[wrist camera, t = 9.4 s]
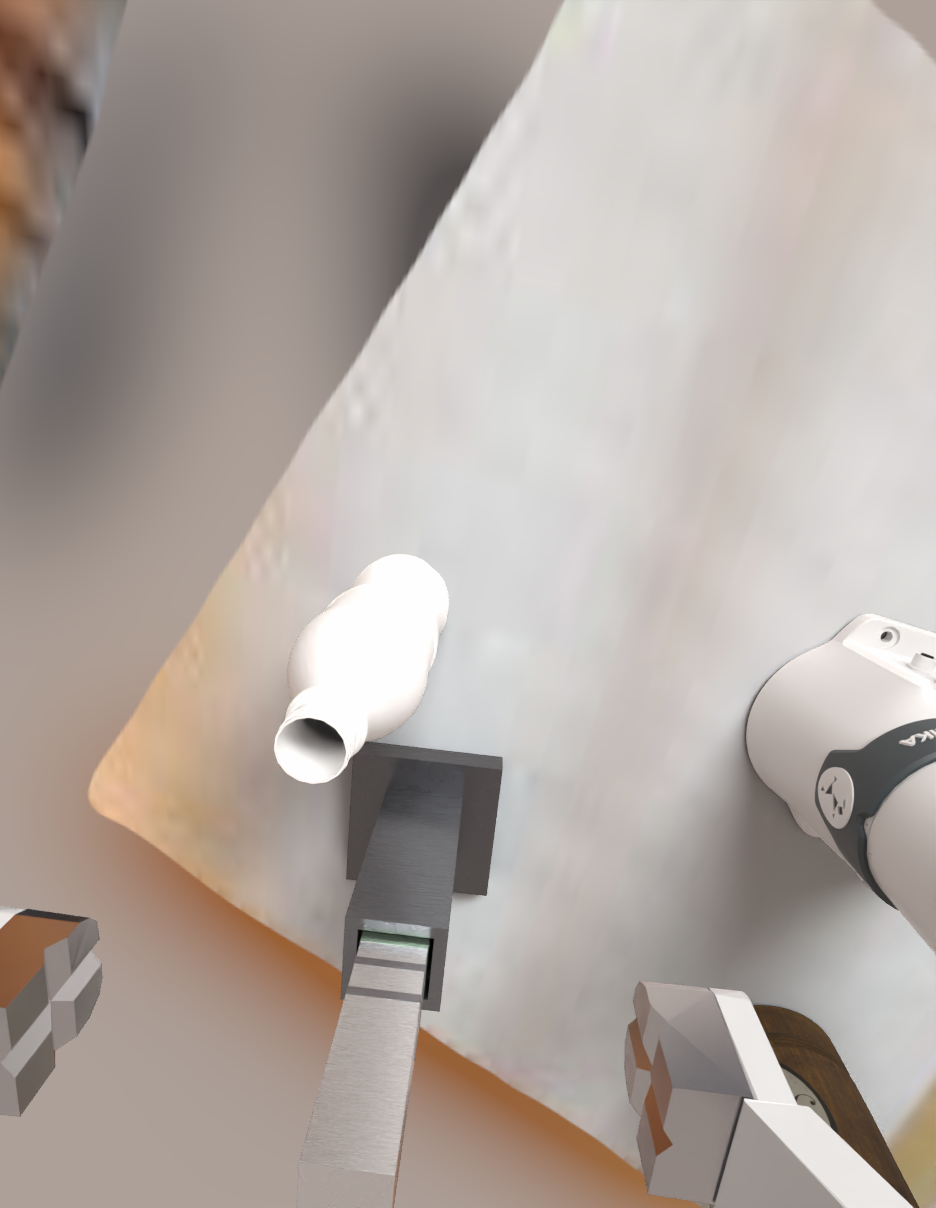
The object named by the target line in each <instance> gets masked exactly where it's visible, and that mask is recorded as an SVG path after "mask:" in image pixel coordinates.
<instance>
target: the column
mask: <svg viewBox="0 0 936 1208" xmlns="http://www.w3.org/2000/svg"><path fill="white" fill-rule="evenodd" d="M430 945H431V938H424V937H416V936H408V935H400V934H392V933H384V932H376V931H367V930H363V933H362V936H361V940H360V945H359V949H358V952H357V956H356V958H355V961H354V966H353V970H352V974H351V977H350V981H349V984H348V986H347V990H346V994H345V999H344V1002H343V1006H342V1009H341V1013H340V1017H339V1021H338V1024H337V1027H336V1031H335V1035H334V1038H333V1042H332V1045H331V1049H330V1052H329V1056H328V1060H327V1063H326V1067H325V1070H324V1074H323V1077H322V1081H321V1085H320V1088H319V1092H318V1095H317V1099H316V1102H315V1106H314V1110H313V1113H312V1117H311V1120H310V1124H309V1127H308V1131H307V1135H306V1138H305V1142H304V1145H303V1149H302V1153H301V1156H300V1160H299V1165H298V1166H299V1167H298V1193H297V1208H394V1202H395V1195H396V1187H397V1181H398V1173H399V1166H400V1158H401V1152H402V1145H403V1138H404V1130H405V1123H406V1115H407V1109H408V1102H409V1095H410V1088H411V1080H412V1073H413V1066H414V1061H415V1055H416V1044H417V1038H418V1030H419V1026H420V1018H421V1009H422V1003H423V997H424V990H425V981H426V973H427V966H428V959H429V952H430Z"/></svg>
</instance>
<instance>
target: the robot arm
mask: <svg viewBox="0 0 936 1208" xmlns="http://www.w3.org/2000/svg"><path fill="white" fill-rule="evenodd" d="M886 631H887V635H886V637H885V638H883V639H881V638H880V637H881V634H882V633H883V632H886ZM746 740H747V749H748V754H749V757H750V760H751V763H752V765H753V767H754V769H755V771H756V772H757V774H758V776H759V777H760V778H761V780H762V781H763V782H764V783H765V784H766V785H767V786H768V787H769V788H770V789H771V790H772V791H774V792H775V793H776V794H777V795H779V796H780V797H781V798H782V799H783V800H784V801H785V802H786V803H787V804H788V805H789V808H790V810H791V812H792V815H793V817H794V819H795V821H796V822H797V824H798V825H799V826H800V828H801V829H802V830H803V831H804V832H805V833H807V834H808V835H809V836H812V837H820V838H821V839H822V840H823V841H824V842H825V843H826V844H827V845H828V846H829V847H830V848H831V849H833V850H834V851H835V852H836V853H837V854H838V855H839V856H840V857H841V858H842V859H843V860H844V861H845V862H846V863H847V864H848V865H849V866H850V867H851V868H852V869H853V870H854V871H855V872H857V876H858V877H859V878H860V879H861V880H862V881H863V882H864V883H865V884H866V885H867V886H868V887H869V888H870V889H871V890H872V891H874V892H875V893H876V894H877V895H878V896H879V897H880V898H881V899H882V900H883V901H884V902H886V903H887V904H889V905H890V906H892V907H893V908H895V909H897V910H899V911H900V912H901V914H902V915H903V916H904V917H905V918H906V920H907V921H908V922H909V923H910V924H911V926H912V927H913V928H914V929H915V930H916V932H917V933H918V934H919V935H920V936H921V938H922V939H923V940H924V941H925V942H926V943H927V945H928V946H929V947H930V948H931V949H932V951H933V952H934V953H935V954H936V633H933V632H930V631H927V630H924V629H920V628H917V627H914V626H911V625H908V624H904V623H901V622H898V621H895V620H891V619H888V618H885V617H882V616H879V615H875V614H863V615H861V616H859V617H857V618H855V619H854V620H853V621H851V622H850V623H849V624H848V625H847V626H845V627H844V628H843V629H842V630H841V631H840V632H839V633H838V634H837V635H836V636H835V637H834V638H833V639H832V640H830V641H829V642H827V643H825V644H823V645H821V646H819V647H817V648H814V649H812V650H810V651H808V652H805V653H803V654H801V655H800V656H798V657H796V658H794V659H793V660H791V661H790V662H788V663H787V664H786V665H784V666H783V667H782V668H781V669H779V670H778V671H777V672H776V673H775V674H774V675H773V676H772V677H771V678H770V679H769V680H768V682H767V683H766V684H765V685H764V687H763V688H762V690H761V691H760V693H759V694H758V696H757V698H756V700H755V702H754V704H753V706H752V709H751V712H750V715H749V718H748V723H747V732H746ZM99 939H100V938H99V930H98V922H97V921H96V920H94V919H91V918H88V917H81V916H74V915H67V914H60V913H53V912H46V911H39V910H32V909H20V908H13V907H7V906H0V1115H8V1116H19V1117H20V1116H21V1114H22V1113H23V1112H24V1110H25V1109H26V1107H27V1106H28V1105H29V1103H30V1102H31V1100H32V1099H33V1098H34V1096H35V1095H36V1093H37V1092H38V1091H39V1089H40V1088H41V1086H42V1085H43V1084H44V1082H45V1081H46V1079H47V1078H48V1077H49V1075H50V1074H51V1072H52V1071H53V1069H54V1068H55V1050H57V1049H58V1048H60V1047H61V1046H63V1045H64V1044H66V1043H67V1042H69V1041H71V1040H72V1039H74V1038H75V1037H77V1036H78V1034H79V1033H80V1031H81V1029H82V1028H83V1027H84V1025H85V1024H86V1022H87V1021H88V1019H89V1018H90V1016H91V1013H92V1011H93V1009H94V1006H95V1004H96V1001H97V999H98V997H99V995H100V988H101V983H102V964H101V962H100V961H99V960H98V959H97V957H96V956H95V955H94V954H93V952H92V951H91V950H92V948H93V947H94V946H95V945H96V943H97V942H98V941H99ZM633 1004H634V1008H635V1013H636V1017H637V1018H636V1019H635V1020H634V1021H633V1022H631V1023H630V1024H629V1025H628V1028H627V1034H626V1040H625V1065H624V1066H625V1076H626V1085H627V1090H628V1096H629V1101H630V1104H631V1105H632V1106H633V1108H634V1109H635V1110H636V1111H637V1113H638V1114H639V1115H640V1116H641V1119H640V1124H639V1129H638V1134H637V1142H638V1147H639V1152H640V1157H641V1162H642V1167H643V1172H644V1176H645V1182H646V1187H647V1192H648V1194H650V1195H656V1196H662V1197H668V1198H675V1199H681V1200H687V1201H694V1202H700V1203H706V1204H713V1205H715V1206H714V1208H913V1207H912V1206H911V1205H910V1204H909V1203H908V1202H907V1201H906V1200H905V1199H904V1198H903V1197H902V1196H901V1195H900V1194H899V1193H898V1192H897V1191H896V1190H895V1189H894V1188H893V1187H892V1186H891V1185H890V1184H889V1183H888V1182H887V1181H886V1180H884V1179H883V1178H882V1177H881V1176H880V1175H879V1174H878V1173H877V1172H876V1171H875V1170H874V1169H873V1168H872V1167H871V1166H870V1165H869V1164H868V1163H867V1162H866V1161H865V1160H864V1159H863V1158H862V1157H861V1156H860V1155H859V1154H858V1153H856V1152H855V1151H854V1150H853V1149H852V1148H851V1147H850V1146H849V1145H848V1144H847V1143H846V1142H845V1141H844V1140H843V1139H842V1138H841V1137H840V1136H839V1135H838V1134H837V1133H836V1132H835V1131H834V1130H833V1129H832V1128H831V1127H830V1126H829V1125H827V1124H826V1123H825V1122H824V1121H823V1120H822V1119H821V1118H820V1117H819V1116H818V1115H817V1114H816V1113H815V1112H814V1111H813V1110H812V1109H811V1108H810V1107H807V1106H801V1105H797V1102H796V1100H795V1098H794V1096H793V1093H792V1091H791V1089H790V1087H789V1085H788V1082H787V1080H786V1078H785V1076H784V1074H783V1071H782V1069H781V1067H780V1065H779V1063H778V1060H777V1058H776V1056H775V1054H774V1052H773V1049H772V1047H771V1045H770V1043H769V1040H768V1038H767V1036H766V1034H765V1032H764V1029H763V1027H762V1025H761V1023H760V1021H759V1018H758V1016H757V1014H756V1012H755V1010H754V1007H753V1005H752V1003H751V1001H750V999H749V997H748V996H747V995H746V994H745V993H744V992H743V991H735V990H726V989H716V988H705V987H696V986H687V985H677V984H668V983H658V982H648V981H639V983H638V985H637V986H636V989H635V994H634V998H633Z"/></svg>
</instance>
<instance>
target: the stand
mask: <svg viewBox="0 0 936 1208" xmlns="http://www.w3.org/2000/svg"><path fill="white" fill-rule="evenodd" d="M501 777H502V757H495V756H487V755H478V754H469V753H461V752H452V751H443V750H435V749H426V748H417V747H409V746H400V745H391V744H383V743H374V742H364V744H363V746H362V748H361V749H360V750H359V751H358V752H357V753H356V754H355V755H354V756H353V769H352V787H351V805H350V823H349V841H348V859H347V877H346V879H351V880H357V882H356V885H355V888H354V891H353V894H352V898H351V901H350V904H349V907H348V910H347V913H346V916H345V930H344V948H343V966H342V984H341V999H343V1000H344V999H345V994H346V990H347V986H348V984H349V981H350V977H351V974H352V970H353V966H354V961H355V958H356V956H357V952H358V949H359V945H360V940H361V936H362V933H363V930H367V931H376V932H384V933H392V934H400V935H408V936H416V937H424V938H431V945H430V952H429V959H428V966H427V973H426V981H425V990H424V997H423V1003H422V1009H423V1010H430V1011H438V1012H440V1004H441V994H442V985H443V976H444V967H445V958H446V949H447V940H448V931H449V921H450V912H451V903H452V893H453V892H459V893H467V894H476V895H484V896H486V895H487V888H488V880H489V872H490V864H491V856H492V848H493V840H494V833H495V825H496V817H497V809H498V801H499V793H500V785H501Z"/></svg>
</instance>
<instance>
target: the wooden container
mask: <svg viewBox="0 0 936 1208" xmlns="http://www.w3.org/2000/svg"><path fill="white" fill-rule="evenodd" d="M753 1007H754V1010H755V1012H756V1014H757V1016H758V1018H759V1021H760V1023H761V1025H762V1027H763V1029H764V1032H765V1034H766V1036H767V1038H768V1040H769V1043H770V1045H771V1047H772V1049H773V1052H774V1054H775V1056H776V1058H777V1060H778V1063H779V1065H780V1067H781V1069H782V1071H783V1074H784V1076H785V1078H786V1080H787V1082H788V1085H789V1087H790V1089H791V1091H792V1093H793V1096H794V1098H795V1100H796V1102H797V1105H801V1106H807V1107H810V1108H811V1109H812V1110H813V1111H814V1112H815V1113H816V1114H817V1115H818V1116H819V1117H820V1118H821V1119H822V1120H823V1121H824V1122H825V1123H826V1124H827V1125H829V1126H830V1127H831V1128H832V1129H833V1130H834V1131H835V1132H836V1133H837V1134H838V1135H839V1136H840V1137H841V1138H842V1139H843V1140H844V1141H845V1142H846V1143H847V1144H848V1145H849V1146H850V1147H851V1148H852V1149H853V1150H854V1151H855V1152H856V1153H858V1154H859V1155H860V1156H861V1157H862V1158H863V1159H864V1160H865V1161H866V1162H867V1163H868V1164H869V1165H870V1166H871V1167H872V1168H873V1169H874V1170H875V1171H876V1172H877V1173H878V1174H879V1175H880V1176H881V1177H882V1178H883V1179H884V1180H886V1181H887V1182H888V1183H889V1184H890V1185H891V1186H892V1187H893V1188H894V1189H895V1190H896V1191H897V1192H898V1193H899V1194H900V1195H901V1196H902V1197H903V1198H904V1199H905V1200H906V1201H907V1202H908V1203H909V1204H910V1205H911V1206H912V1207H913V1208H919V1206H918V1204H917V1202H916V1200H915V1199H914V1197H913V1195H912V1193H911V1191H910V1189H909V1187H908V1185H907V1183H906V1181H905V1180H904V1178H903V1176H902V1174H901V1172H900V1170H899V1168H898V1166H897V1164H896V1162H895V1160H894V1158H893V1156H892V1154H891V1152H890V1150H889V1148H888V1146H887V1144H886V1142H885V1140H884V1138H883V1136H882V1134H881V1132H880V1130H879V1128H878V1126H877V1125H876V1123H875V1121H874V1119H873V1117H872V1115H871V1113H870V1111H869V1109H868V1107H867V1105H866V1103H865V1102H864V1100H863V1098H862V1096H861V1094H860V1092H859V1091H858V1089H857V1087H856V1085H855V1083H854V1082H853V1080H852V1079H851V1077H850V1075H849V1073H848V1071H847V1069H846V1067H845V1065H844V1063H843V1062H842V1060H841V1058H840V1056H839V1054H838V1052H837V1051H836V1049H835V1047H834V1045H833V1044H832V1042H831V1040H830V1038H829V1037H828V1036H827V1034H826V1033H825V1032H824V1031H823V1030H822V1029H821V1028H820V1027H819V1026H818V1025H817V1024H816V1023H814V1022H813V1021H812V1020H810V1019H809V1018H807V1017H805V1016H804V1015H801V1014H799V1013H797V1012H794V1011H792V1010H788V1009H785V1008H780V1007H775V1006H765V1005H753ZM709 1205H710V1208H714V1206H715V1205H713V1204H709Z"/></svg>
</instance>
